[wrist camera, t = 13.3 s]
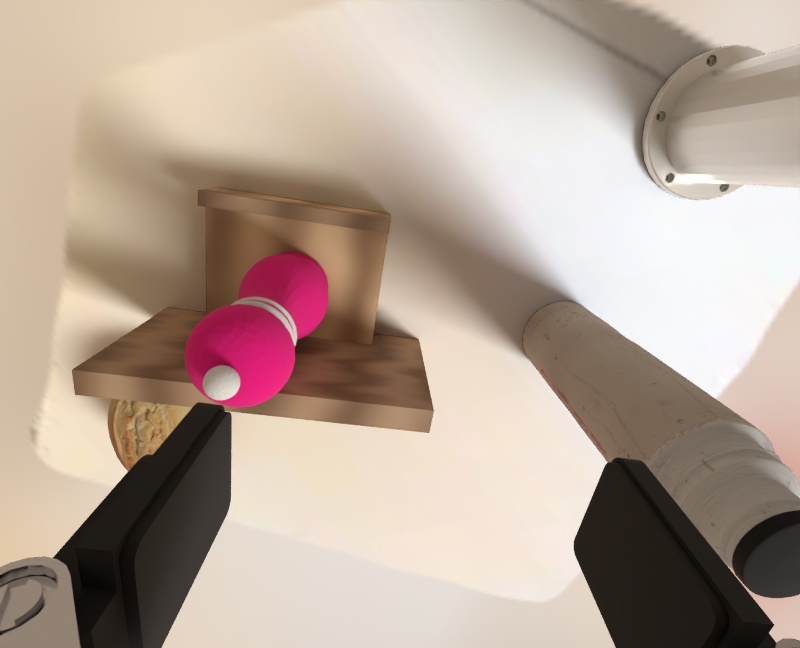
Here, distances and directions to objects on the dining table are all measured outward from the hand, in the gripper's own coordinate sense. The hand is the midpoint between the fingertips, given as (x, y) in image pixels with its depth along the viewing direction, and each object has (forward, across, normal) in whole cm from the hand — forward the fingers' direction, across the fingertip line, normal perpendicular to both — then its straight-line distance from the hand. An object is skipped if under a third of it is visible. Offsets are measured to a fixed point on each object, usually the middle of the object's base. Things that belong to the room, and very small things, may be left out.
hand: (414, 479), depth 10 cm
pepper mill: (+30, +10, +5) cm, 32 cm away
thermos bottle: (+34, -18, +8) cm, 39 cm away
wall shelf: (+33, +10, +5) cm, 34 cm away
